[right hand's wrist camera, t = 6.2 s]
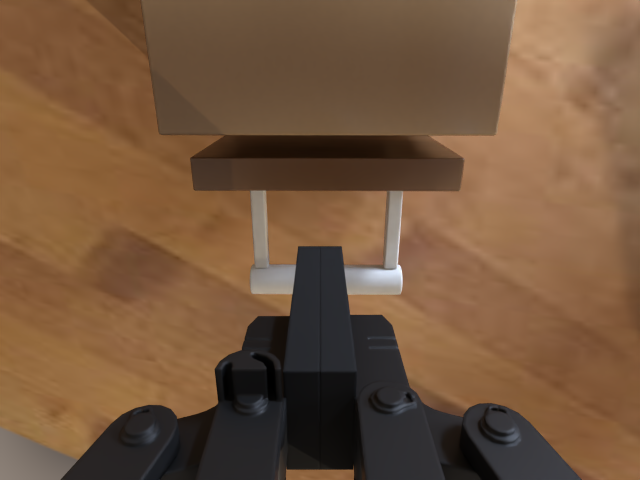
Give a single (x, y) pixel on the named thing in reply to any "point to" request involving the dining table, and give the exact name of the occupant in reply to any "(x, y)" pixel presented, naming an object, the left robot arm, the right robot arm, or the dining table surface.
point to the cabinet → (328, 66)
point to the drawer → (327, 188)
